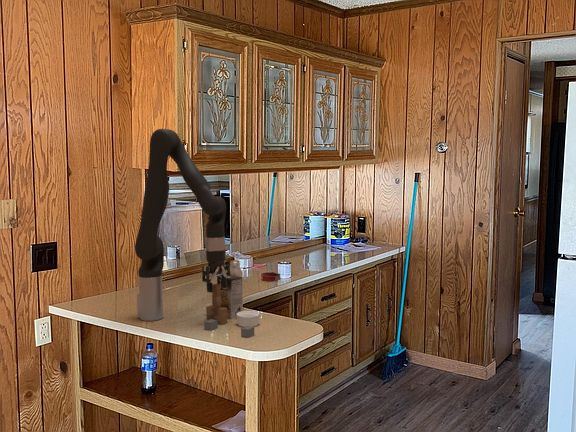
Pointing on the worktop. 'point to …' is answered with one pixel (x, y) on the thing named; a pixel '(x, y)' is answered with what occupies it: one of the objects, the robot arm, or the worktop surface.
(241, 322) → the ramekin
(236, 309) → the coffee box
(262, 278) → the red and clear container
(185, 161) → the robot arm
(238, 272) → the plastic bottle
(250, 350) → the worktop surface
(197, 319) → the worktop surface
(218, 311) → the stepped wooden block
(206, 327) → the slate blocks
